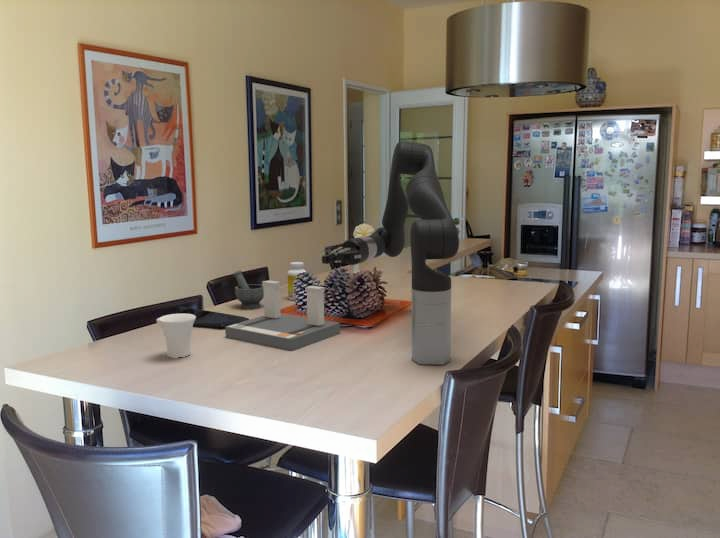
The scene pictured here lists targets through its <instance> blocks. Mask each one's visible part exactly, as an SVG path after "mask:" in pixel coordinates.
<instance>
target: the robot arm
mask: <svg viewBox="0 0 720 538" xmlns="http://www.w3.org/2000/svg"><path fill="white" fill-rule="evenodd" d="M433 152H434V151H433V149H432V147H431V146H430V145H428V144H426V143H420V142H415V141H408V140H406V141H405V140H401V141H398V142H397V143H396V145H395V147H394V150H393V154H392V160H391V166H390V174H389V182H388V188H387V189H388V190H387V199H386V202H385V203H386V204H385V208H384V212H383V215H382V219H381V225H382V226H380V227H378V228H377V229H376V230H374V231H375V232H373V233H372V234H371V235H369V236H365V237H358V238H350V239H347V240H345V241H343V243H342V244H341V246H339V247H337V248H334V249H333V250H331V249H328V248H326V249H324V255H322V256H321V263H322V264H325V265H329V264H333V263H341V264H343V263H346V264H348V265H349V266H353V265H356V264H359V263H360V264H361V263H365V262H367V261H369V260H371V259H376V258H378V257H379V256H381V255H383V254H385V255H386V256H387V257H390V258H395V257H398V256H399V255H400V254H401V253H402V252H403V251H404V247H405V242H406V241H405V224H406V220H407V216H408V213H409V208H410V210H411V212H412V213H413V215H415V216H417V217H418V218H420V219H416V220H414V221H413V222H412V224H411V225H410V233H409V234H410V235H409V236H410V239H409V240H410V241H409V242H410V256H411V259H410V261H411V360H412V361H413V362H415V363H417V364H418V365H441V366H442V365H446V363H449V362H450V361H451V360H452V359H451V354H452V352H451V349H452V348H451V347H452V346H451V345H452V343H451V342H452V337H451V335H452V331H451V330H452V326H451V325H452V277H451V276H449V275H448V274H446V273H443V272H441V271H438V270H435V269H432V268H431V267H430V266H428V265H427V264H426V263H427V262H426V261H427V260H447V259H452V258H454V257H455V256H456V255H457V253H458V251H459V249H460V248H459V247H460V236H459V232H458V228H457V226H456V222H455V221H454V219H453V216H452V215H451V213H450V210H449V209H448V207H447V204H446V199H445V196H444V192H443V189H442V185H441V184H440V181H439V177H438V173H437V170H436V164H435V158H434V153H433ZM402 175H408V176H409V175H410V176H412V177H410V179H409V180H408V182H407V184H406V188H405V191H404V189H403V185H402V183H401V181H402V180H401V177H402Z"/></svg>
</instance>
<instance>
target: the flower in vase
mask: <svg viewBox="0 0 720 538" xmlns="http://www.w3.org/2000/svg"><path fill="white" fill-rule="evenodd" d="M375 231H376V230H375V229H374V227H373V226H372V225H369V224H368V223H362V224H359V225H357V226H355V228H354V230H353V234H352V236H353V237H354V238H358V237H365V236H369V235H371V234H372V233H373V232H375ZM354 238H353V239H354ZM360 264H361V263H359V264H356V265H352V266H353V271H352V274H353V273H357V272H360V273H361V270H360Z"/></svg>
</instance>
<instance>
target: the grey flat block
mask: <svg viewBox="0 0 720 538" xmlns="http://www.w3.org/2000/svg"><path fill="white" fill-rule="evenodd" d="M280 313H281V312H280ZM249 319H250V318H249ZM340 324H341V323H340V322H336V321H331V320H325V319H324V324H323V325H320V326H316V325H311V324H307V316H299V315H294V314H287V313H281V317H278V318H269V317H265V314H264V315H261V316H258V317H254V318H251V319H250V320H247V321H243V322H240V323H236V324H233V325H229V326H226V327H225V328H224V330H225V338H229V339H231V340H232V339H233V340H238V341H242V342H246V343H251V344H257V345H260V346H267V347H272V348H276V349H281V350H286V351H289V352H290V351H293V352H294V351H295V350H299V349H301V348H305V347H306V346H309V345H311V344H315V343H318V342H320V341H323V340H326V339H328V338H331V337H333V336H337V335H340V334H341V325H340Z"/></svg>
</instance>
